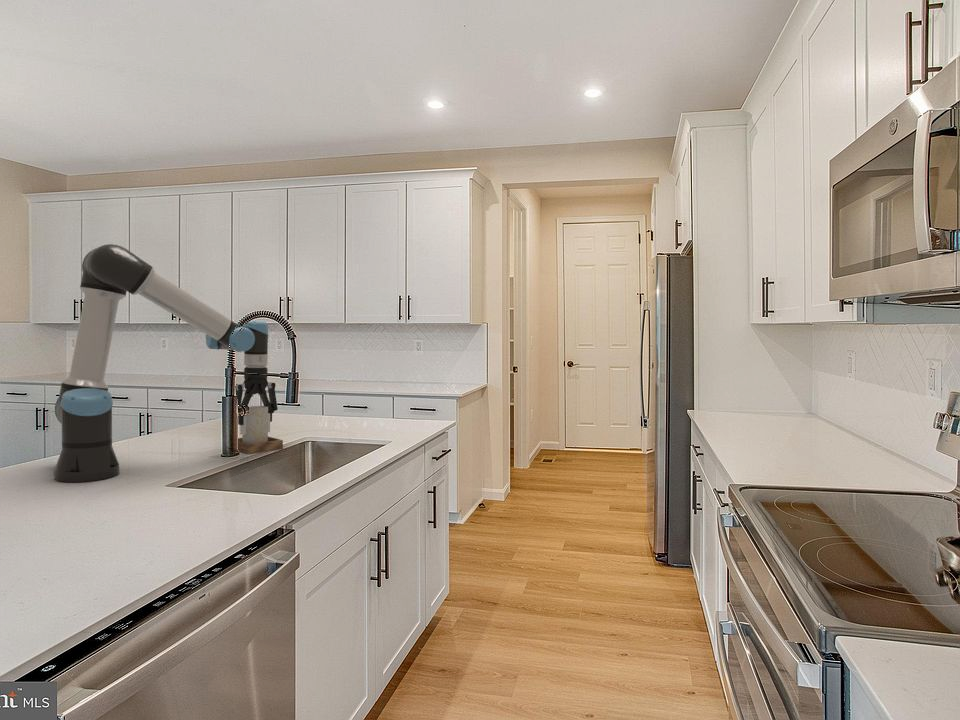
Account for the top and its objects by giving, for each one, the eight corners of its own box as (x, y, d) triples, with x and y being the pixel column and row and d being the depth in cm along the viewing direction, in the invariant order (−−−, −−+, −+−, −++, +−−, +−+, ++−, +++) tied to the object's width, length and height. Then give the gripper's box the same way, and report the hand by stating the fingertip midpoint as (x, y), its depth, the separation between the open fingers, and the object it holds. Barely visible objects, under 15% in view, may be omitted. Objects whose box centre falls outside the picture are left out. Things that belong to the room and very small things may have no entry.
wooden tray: (247, 454, 203) (247, 444, 203) (227, 448, 211) (227, 439, 211) (282, 448, 213) (282, 440, 213) (262, 443, 221) (262, 435, 221)
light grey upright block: (251, 445, 206) (251, 409, 206) (237, 441, 211) (237, 406, 211) (272, 442, 213) (272, 407, 212) (258, 438, 218) (259, 404, 217)
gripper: (232, 368, 200) (231, 438, 201) (289, 366, 216) (288, 431, 217) (220, 366, 205) (220, 434, 206) (277, 365, 221) (276, 428, 222)
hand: (255, 432), depth 212 cm, fingers closed on light grey upright block, 8 cm apart
